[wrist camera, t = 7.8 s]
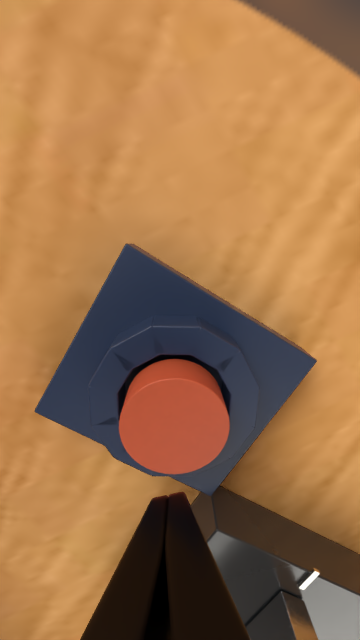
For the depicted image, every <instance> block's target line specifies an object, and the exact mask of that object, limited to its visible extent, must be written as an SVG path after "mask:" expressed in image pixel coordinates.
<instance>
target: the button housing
mask: <svg viewBox="0 0 360 640" xmlns="http://www.w3.org/2000/svg"><path fill="white" fill-rule="evenodd" d="M167 359H183V360H188V361H191V362H194V363H196V364H198V365H200V366H202V367H203V368H205V369H206V370H207V371H208V372H210V373H211V375H212V376H213V377H214V378H215V380H216V381H217V383H218V385H219V387H220V390H221V393H222V396H223V399H224V402H225V405H226V408H227V412H228V415H229V421H230V430H229V435H228V439H227V442H226V444H225V446H224V448H223V449H222V451H221V452H220V453H219V455H218V456H217V457H216V458H215V459H214V460H212V461H211V462H210V463H209V464H207V465H206V466H204V467H202V468H200V469H198V470H195V471H192V472H188V473H183V474H164V473H159V472H155V471H152V470H150V469H147V468H145V467H144V466H142V465H140V464H139V463H138V462H136V461H135V460H134V459H133V458H132V457H131V456H130V455H129V454H128V452H127V451H126V449H125V448H124V446H123V443H122V441H121V438H120V434H119V420H120V415H121V411H122V408H123V405H124V401H125V398H126V395H127V392H128V389H129V386H130V384H131V382H132V381H133V379H134V378H135V376H136V375H137V374H138V373H139V372H140V371H142V370H143V369H144V368H146V367H147V366H149V365H151V364H153V363H155V362H158V361H162V360H167ZM316 362H317V361H316V359H315V358H313V357H312V356H311V355H310V354H308V353H307V352H306V351H305V350H303V349H302V348H301V347H300V346H298V345H296V344H295V343H293V342H291V341H290V340H288V339H287V338H285V337H283V336H282V335H280V334H278V333H277V332H275V331H274V330H272V329H270V328H269V327H267V326H266V325H264V324H262V323H261V322H259V321H257V320H256V319H254V318H253V317H251V316H249V315H248V314H246V313H244V312H243V311H241V310H240V309H238V308H236V307H235V306H233V305H231V304H230V303H228V302H227V301H225V300H223V299H222V298H220V297H219V296H217V295H215V294H214V293H212V292H210V291H209V290H207V289H206V288H204V287H202V286H201V285H199V284H197V283H196V282H194V281H193V280H191V279H189V278H188V277H186V276H184V275H183V274H181V273H180V272H178V271H176V270H175V269H173V268H172V267H170V266H168V265H167V264H165V263H163V262H162V261H160V260H159V259H157V258H155V257H154V256H152V255H150V254H149V253H147V252H146V251H144V250H142V249H141V248H139V247H137V246H136V245H134V244H125V246H124V248H123V250H122V252H121V253H120V255H119V257H118V259H117V261H116V263H115V264H114V266H113V268H112V270H111V272H110V273H109V275H108V277H107V279H106V281H105V283H104V284H103V286H102V288H101V290H100V292H99V294H98V295H97V297H96V299H95V301H94V303H93V305H92V306H91V308H90V310H89V312H88V314H87V316H86V317H85V319H84V321H83V323H82V325H81V326H80V328H79V330H78V332H77V334H76V336H75V337H74V339H73V341H72V343H71V345H70V347H69V348H68V350H67V352H66V354H65V356H64V358H63V359H62V361H61V363H60V365H59V367H58V368H57V370H56V372H55V374H54V376H53V378H52V379H51V381H50V383H49V385H48V387H47V389H46V390H45V392H44V394H43V396H42V398H41V400H40V401H39V403H38V405H37V407H36V409H35V412H36V413H38V414H40V415H42V416H44V417H46V418H48V419H50V420H52V421H55V422H57V423H59V424H61V425H63V426H65V427H67V428H69V429H71V430H73V431H75V432H77V433H80V434H82V435H84V436H86V437H88V438H90V439H92V440H94V441H96V442H98V443H100V444H102V445H105V446H106V448H107V449H108V451H109V452H110V453H111V455H112V456H113V457H114V458H116V459H117V460H119V461H121V462H123V463H126V464H128V465H130V466H132V467H134V468H136V469H138V470H140V471H142V472H144V473H147V474H149V475H152V476H169V477H171V478H173V479H176V480H178V481H180V482H182V483H184V484H186V485H188V486H190V487H192V488H194V489H196V490H198V491H201V492H203V493H205V494H207V495H209V496H212V494H213V493H214V492H215V490H216V489H217V488H218V487H219V485H220V484H221V483H222V482H223V480H224V479H225V478H226V476H227V475H228V474H229V473H230V471H231V470H232V469H233V468H234V466H235V465H236V464H237V462H238V461H239V460H240V459H241V457H242V456H243V455H244V454H245V452H246V451H247V450H248V448H249V447H250V446H251V445H252V443H253V442H254V441H255V439H256V438H257V437H258V436H259V434H260V433H261V432H262V431H263V429H264V428H265V427H266V425H267V424H268V423H269V422H270V420H271V419H272V418H273V417H274V415H275V414H276V413H277V411H278V410H279V409H280V408H281V406H282V405H283V404H284V403H285V401H286V400H287V399H288V397H289V396H290V395H291V394H292V392H293V391H294V390H295V389H296V387H297V386H298V385H299V383H300V382H301V381H302V380H303V378H304V377H305V376H306V375H307V373H308V372H309V371H310V369H311V368H312V367H313V366H314V364H315V363H316Z"/></svg>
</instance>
